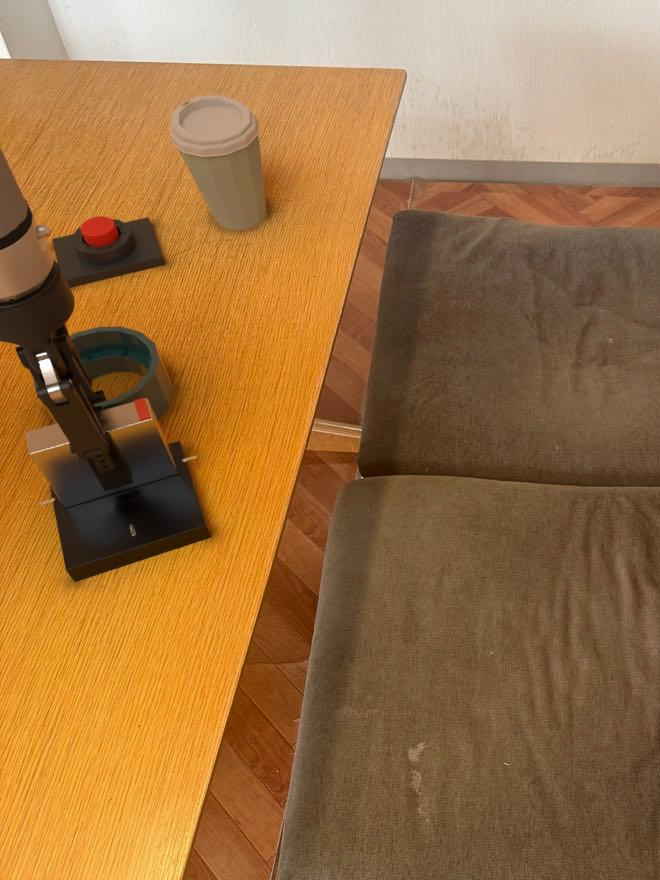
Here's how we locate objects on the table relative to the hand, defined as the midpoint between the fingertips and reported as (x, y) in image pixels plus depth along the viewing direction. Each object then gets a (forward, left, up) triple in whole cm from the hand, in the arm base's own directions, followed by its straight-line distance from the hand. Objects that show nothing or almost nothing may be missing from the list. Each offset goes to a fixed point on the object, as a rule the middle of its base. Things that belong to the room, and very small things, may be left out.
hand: (114, 470), depth 88 cm
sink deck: (0, -1, -5) cm, 5 cm away
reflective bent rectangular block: (0, 0, -1) cm, 1 cm away
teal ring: (+1, +14, -5) cm, 15 cm away
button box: (+5, +40, -5) cm, 41 cm away
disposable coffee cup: (+22, +42, -5) cm, 48 cm away
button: (+5, +40, -1) cm, 40 cm away
